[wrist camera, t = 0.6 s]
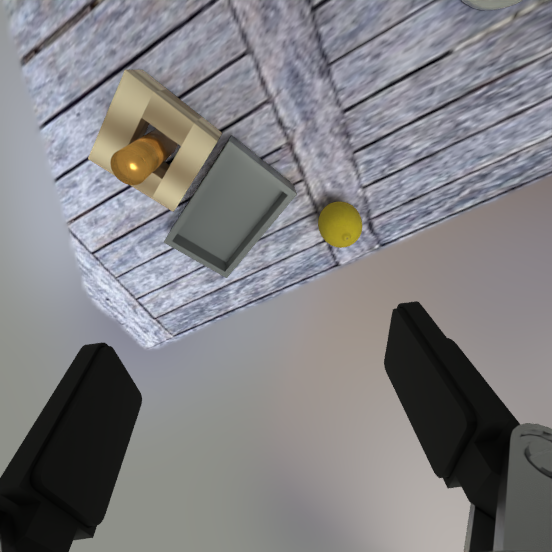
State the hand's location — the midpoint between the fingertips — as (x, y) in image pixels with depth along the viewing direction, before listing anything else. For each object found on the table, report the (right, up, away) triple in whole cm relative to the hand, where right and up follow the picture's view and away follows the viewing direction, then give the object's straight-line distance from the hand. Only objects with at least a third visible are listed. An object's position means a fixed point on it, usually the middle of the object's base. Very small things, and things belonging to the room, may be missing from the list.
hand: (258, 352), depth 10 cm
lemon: (+9, +12, +32) cm, 35 cm away
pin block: (-13, +19, +25) cm, 34 cm away
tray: (-6, +12, +31) cm, 33 cm away
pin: (-13, +19, +25) cm, 34 cm away
